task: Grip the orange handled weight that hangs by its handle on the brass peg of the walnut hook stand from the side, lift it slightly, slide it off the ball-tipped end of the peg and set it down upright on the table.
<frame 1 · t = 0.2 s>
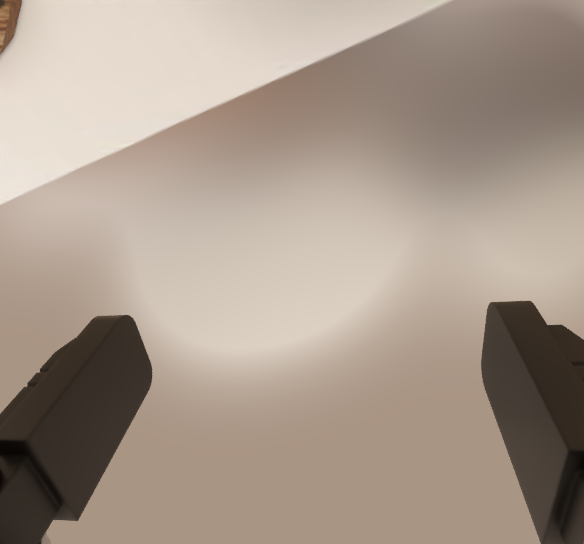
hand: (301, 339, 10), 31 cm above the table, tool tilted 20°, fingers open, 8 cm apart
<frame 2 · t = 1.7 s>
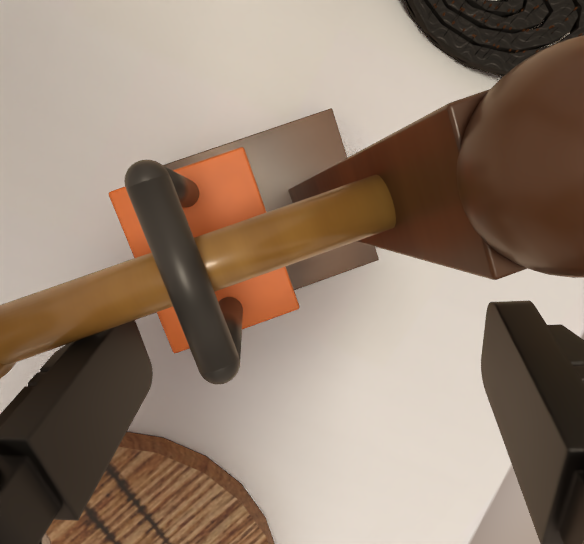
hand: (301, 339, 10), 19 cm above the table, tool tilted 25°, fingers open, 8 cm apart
hook stand: (309, 202, 28), on the table
orange handled weight: (225, 234, 22), point 6 cm above the table, touching hook stand
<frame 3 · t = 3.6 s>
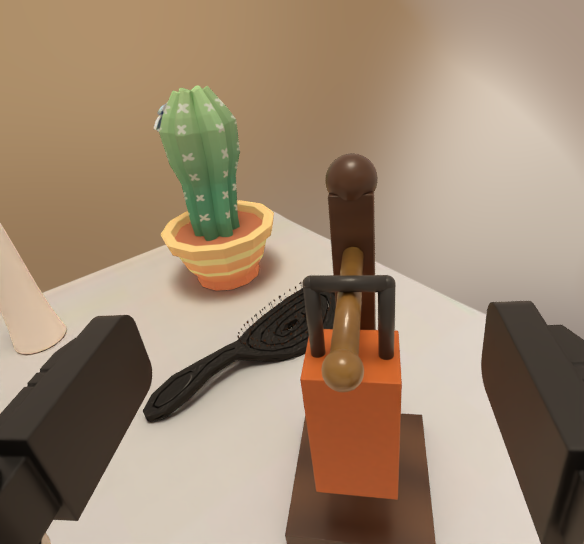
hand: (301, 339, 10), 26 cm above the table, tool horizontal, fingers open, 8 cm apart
hook stand: (362, 449, 36), on the table
hairbrush: (253, 356, 47), on the table
orange handled weight: (357, 466, 28), point 6 cm above the table, touching hook stand
cosmetic bottle: (42, 339, 54), on the table
potted cactus: (229, 274, 63), on the table
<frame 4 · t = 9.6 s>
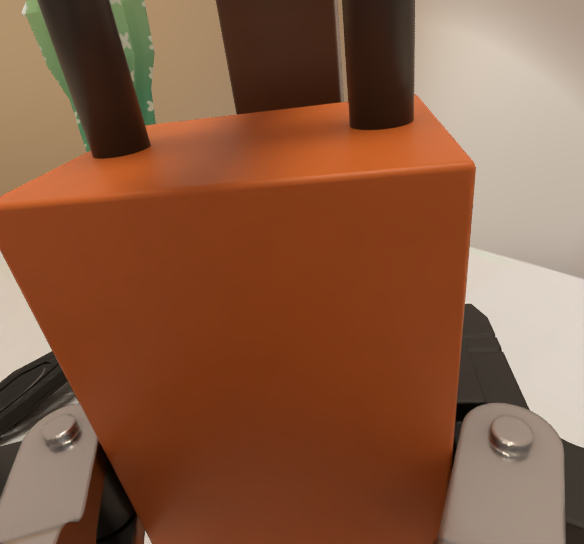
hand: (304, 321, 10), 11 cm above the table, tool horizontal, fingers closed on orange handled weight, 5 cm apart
hook stand: (339, 489, 18), on the table
hairbrush: (167, 338, 30), on the table
potted cactus: (155, 239, 45), on the table
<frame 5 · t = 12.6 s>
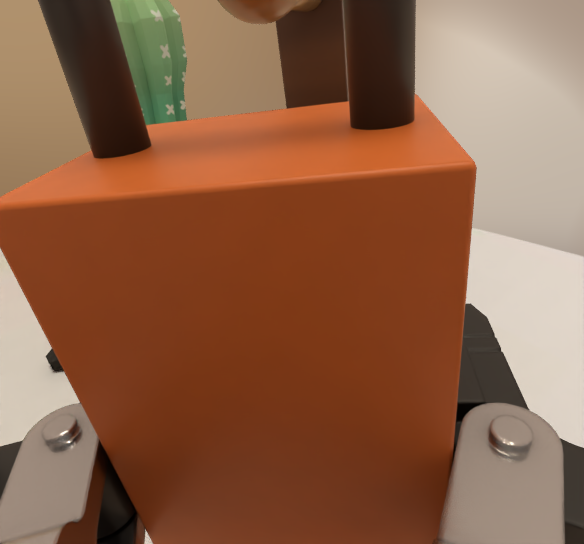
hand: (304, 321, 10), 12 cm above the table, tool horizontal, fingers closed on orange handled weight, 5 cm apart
hook stand: (344, 382, 25), on the table
potted cactus: (183, 220, 52), on the table
when the fingers open (5 cm above the table, at t = 15.7 s): orange handled weight stays where it is, on the table.
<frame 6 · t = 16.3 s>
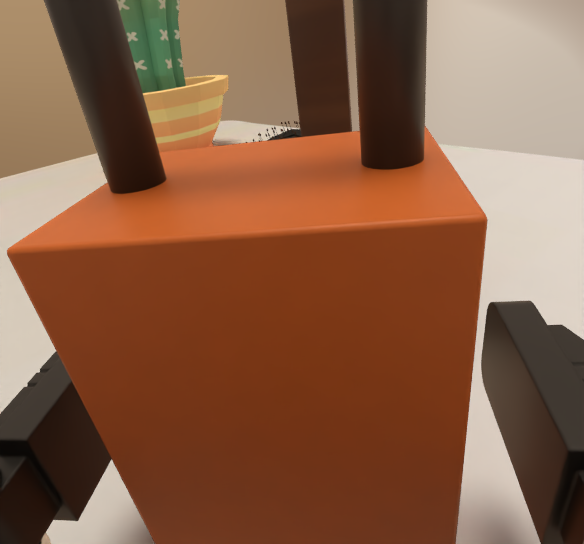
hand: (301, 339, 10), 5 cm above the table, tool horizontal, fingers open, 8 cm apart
hook stand: (338, 254, 25), on the table
potted cactus: (178, 159, 52), on the table
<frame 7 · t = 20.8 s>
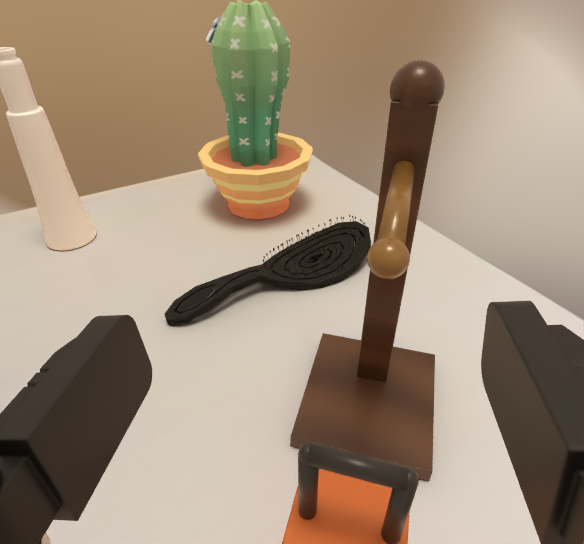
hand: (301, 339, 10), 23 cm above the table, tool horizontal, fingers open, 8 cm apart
hook stand: (371, 377, 37), on the table
hairbrush: (275, 282, 48), on the table
cosmetic bottle: (72, 239, 56), on the table
potted cactus: (259, 205, 63), on the table
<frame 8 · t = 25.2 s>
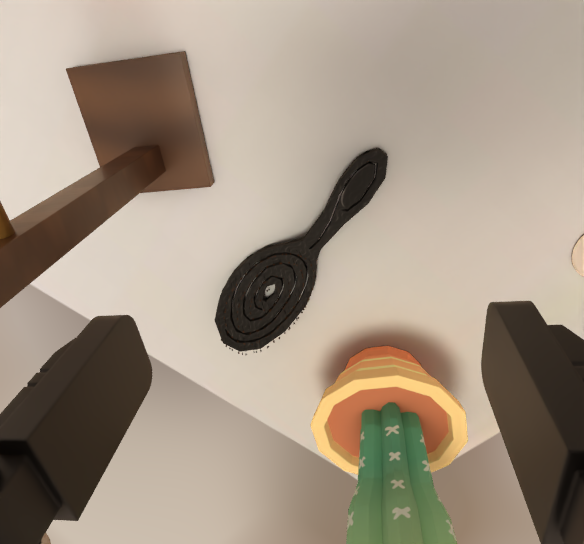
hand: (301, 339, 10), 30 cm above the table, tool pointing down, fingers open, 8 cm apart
hook stand: (155, 155, 40), on the table
hairbrush: (299, 250, 43), on the table
potted cactus: (382, 374, 50), on the table
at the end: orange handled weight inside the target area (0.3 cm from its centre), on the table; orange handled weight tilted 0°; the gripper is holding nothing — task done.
